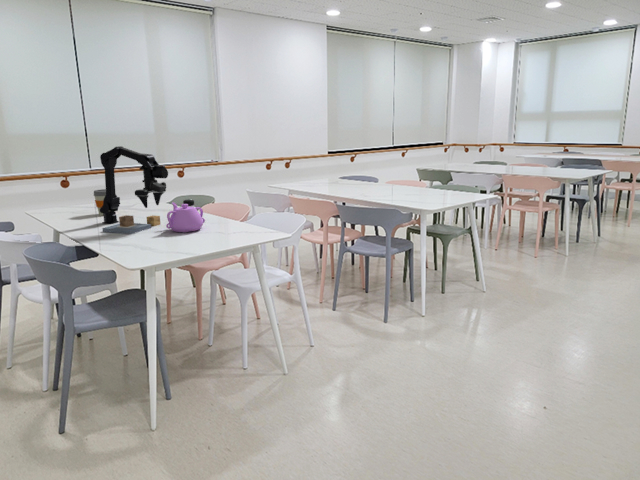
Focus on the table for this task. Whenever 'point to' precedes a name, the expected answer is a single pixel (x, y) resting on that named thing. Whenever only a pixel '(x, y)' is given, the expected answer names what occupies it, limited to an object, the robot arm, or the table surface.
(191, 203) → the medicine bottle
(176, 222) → the teapot
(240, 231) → the table surface
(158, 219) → the ochre block
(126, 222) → the walnut block
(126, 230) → the board
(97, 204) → the reusable coffee cup
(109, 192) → the robot arm
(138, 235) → the table surface
